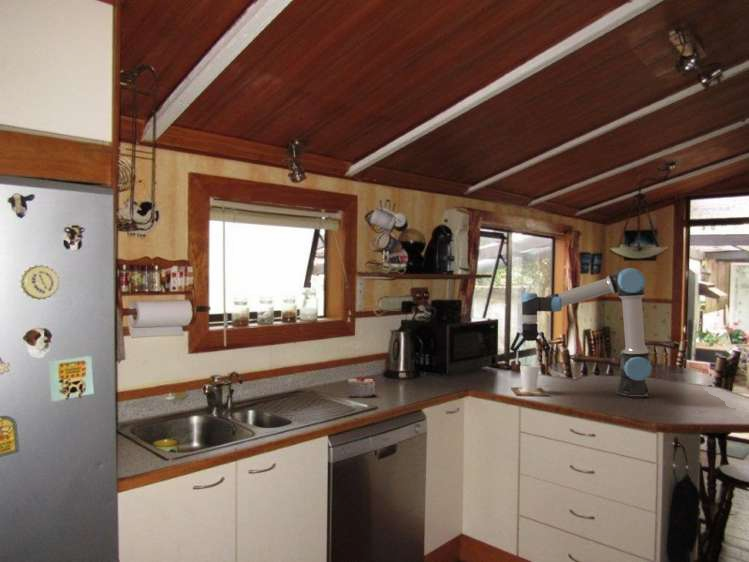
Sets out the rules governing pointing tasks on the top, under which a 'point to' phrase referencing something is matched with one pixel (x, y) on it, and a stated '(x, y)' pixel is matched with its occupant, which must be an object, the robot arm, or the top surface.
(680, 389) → the top surface
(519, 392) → the trivet
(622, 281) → the robot arm
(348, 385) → the food item
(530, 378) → the foam cup
